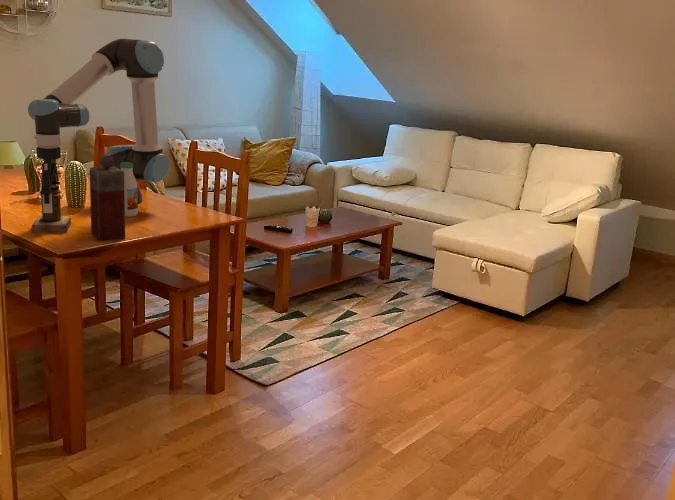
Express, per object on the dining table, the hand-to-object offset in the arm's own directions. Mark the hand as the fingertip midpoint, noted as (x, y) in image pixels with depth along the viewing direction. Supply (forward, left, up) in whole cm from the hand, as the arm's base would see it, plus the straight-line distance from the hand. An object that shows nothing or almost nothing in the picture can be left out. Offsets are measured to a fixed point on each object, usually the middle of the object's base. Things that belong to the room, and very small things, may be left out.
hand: (51, 208), depth 239 cm
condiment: (0, +1, -4) cm, 4 cm away
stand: (0, 0, -7) cm, 7 cm away
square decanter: (-19, +9, -7) cm, 22 cm away
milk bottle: (-24, -21, -7) cm, 33 cm away
